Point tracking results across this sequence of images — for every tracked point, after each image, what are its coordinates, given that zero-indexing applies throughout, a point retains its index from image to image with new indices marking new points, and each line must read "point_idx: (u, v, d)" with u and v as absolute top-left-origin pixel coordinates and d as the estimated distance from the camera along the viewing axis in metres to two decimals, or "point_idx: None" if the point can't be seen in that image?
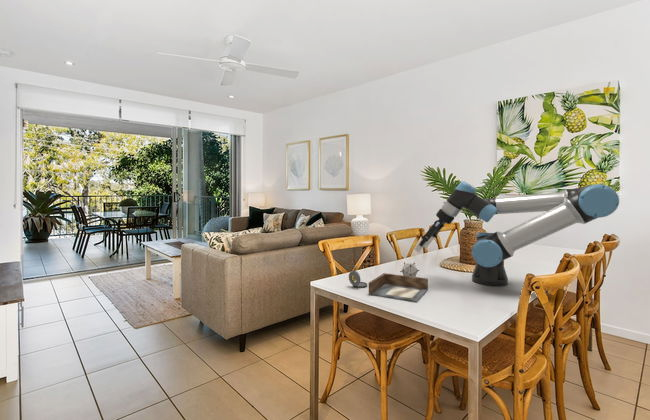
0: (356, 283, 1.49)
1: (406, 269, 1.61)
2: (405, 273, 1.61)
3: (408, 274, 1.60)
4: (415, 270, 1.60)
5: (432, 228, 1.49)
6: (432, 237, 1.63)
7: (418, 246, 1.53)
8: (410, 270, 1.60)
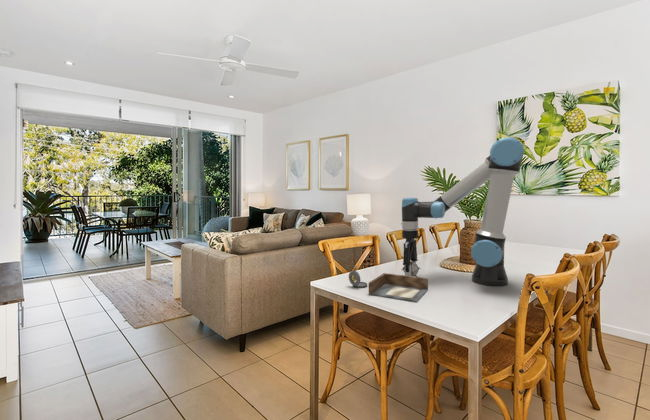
0: (356, 283, 1.49)
1: None
2: None
3: None
4: (416, 268, 1.60)
5: (405, 251, 1.57)
6: None
7: (406, 273, 1.59)
8: (411, 268, 1.59)
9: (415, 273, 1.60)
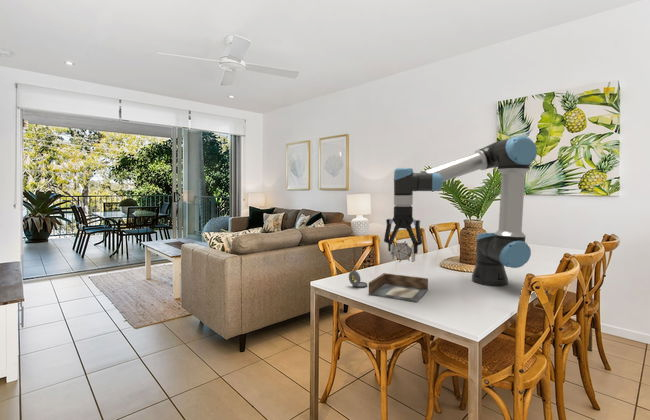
0: (356, 283, 1.49)
1: None
2: None
3: None
4: (397, 250, 1.37)
5: None
6: (412, 246, 1.37)
7: None
8: (394, 248, 1.40)
9: (397, 256, 1.38)
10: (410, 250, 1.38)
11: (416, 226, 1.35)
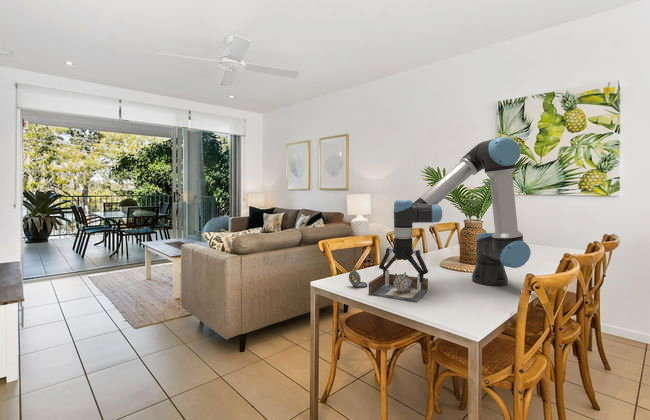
0: (356, 283, 1.49)
1: None
2: None
3: None
4: (397, 282, 1.38)
5: None
6: (418, 275, 1.36)
7: None
8: (394, 280, 1.41)
9: (397, 287, 1.39)
10: (410, 282, 1.39)
11: (417, 256, 1.35)
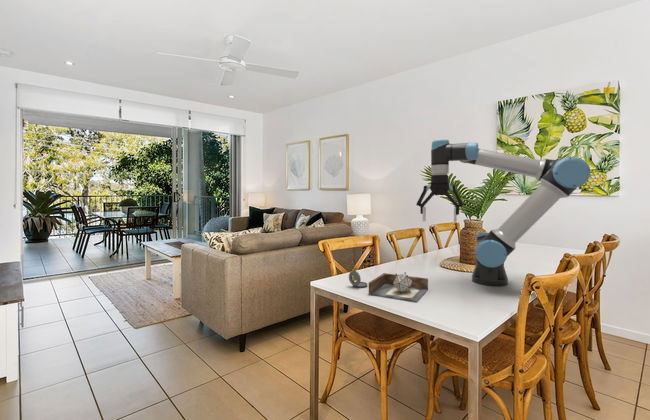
0: (356, 283, 1.49)
1: None
2: None
3: None
4: (397, 282, 1.38)
5: None
6: (454, 208, 1.49)
7: None
8: (394, 280, 1.41)
9: (397, 287, 1.39)
10: (410, 282, 1.39)
11: (454, 190, 1.48)
